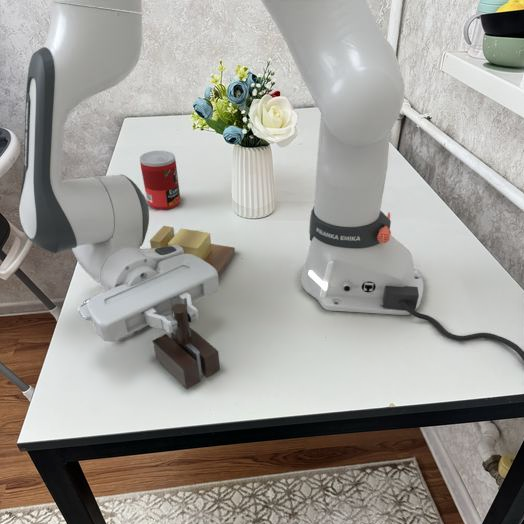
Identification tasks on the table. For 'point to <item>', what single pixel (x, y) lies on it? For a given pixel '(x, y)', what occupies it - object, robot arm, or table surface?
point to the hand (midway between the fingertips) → (184, 322)
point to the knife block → (186, 358)
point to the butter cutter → (184, 333)
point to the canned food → (160, 179)
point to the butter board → (195, 246)
